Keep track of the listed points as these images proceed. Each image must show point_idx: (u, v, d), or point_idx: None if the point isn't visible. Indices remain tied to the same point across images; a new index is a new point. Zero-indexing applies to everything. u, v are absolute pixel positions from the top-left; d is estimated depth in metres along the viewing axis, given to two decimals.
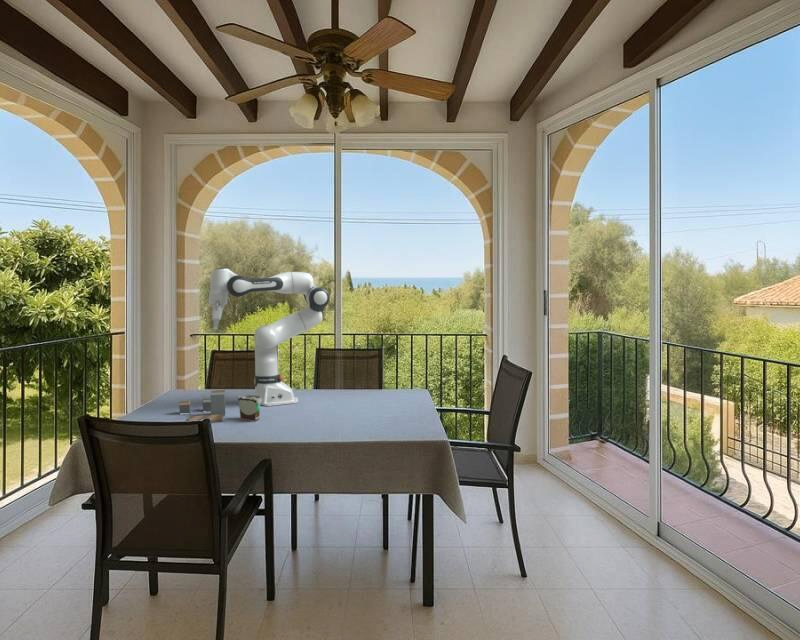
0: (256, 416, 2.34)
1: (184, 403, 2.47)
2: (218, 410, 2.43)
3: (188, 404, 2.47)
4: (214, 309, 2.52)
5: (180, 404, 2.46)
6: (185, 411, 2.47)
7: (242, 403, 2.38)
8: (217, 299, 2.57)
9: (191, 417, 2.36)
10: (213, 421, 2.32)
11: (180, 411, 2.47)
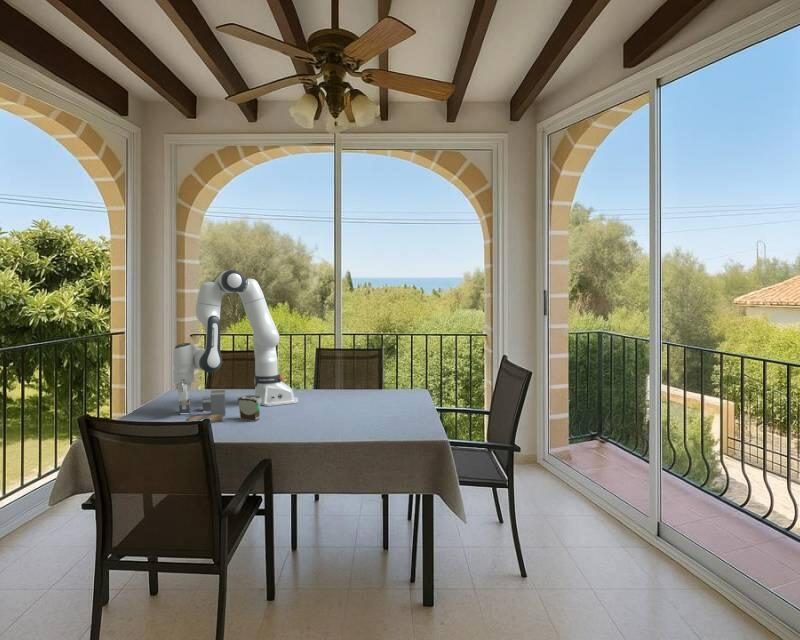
0: (256, 416, 2.34)
1: None
2: (218, 410, 2.43)
3: (188, 404, 2.47)
4: (179, 390, 2.39)
5: (180, 404, 2.46)
6: (185, 411, 2.47)
7: (242, 403, 2.38)
8: (182, 378, 2.44)
9: (191, 417, 2.36)
10: (213, 421, 2.32)
11: (180, 411, 2.47)
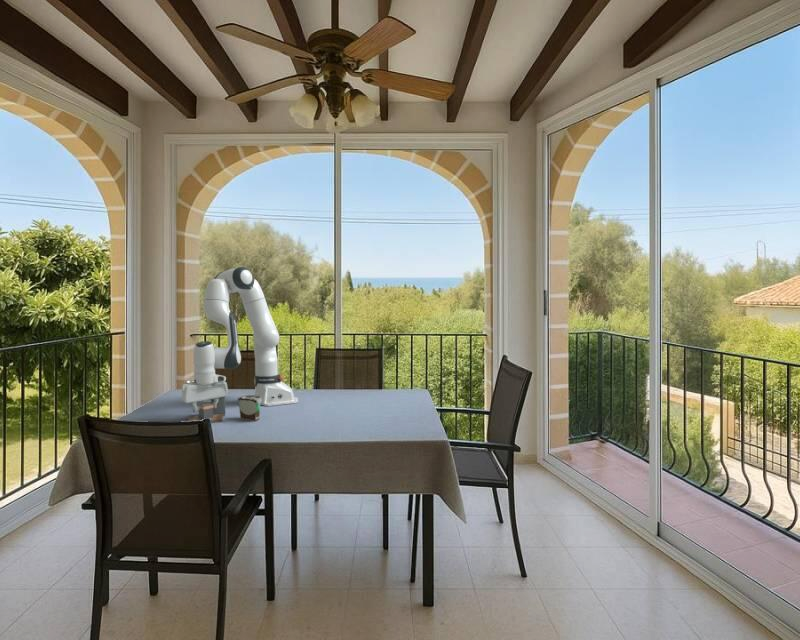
0: (256, 416, 2.34)
1: (201, 407, 2.34)
2: (218, 410, 2.43)
3: (203, 409, 2.33)
4: None
5: (199, 407, 2.35)
6: (201, 415, 2.34)
7: (242, 403, 2.38)
8: (195, 378, 2.31)
9: (191, 417, 2.36)
10: (213, 421, 2.32)
11: (199, 414, 2.35)
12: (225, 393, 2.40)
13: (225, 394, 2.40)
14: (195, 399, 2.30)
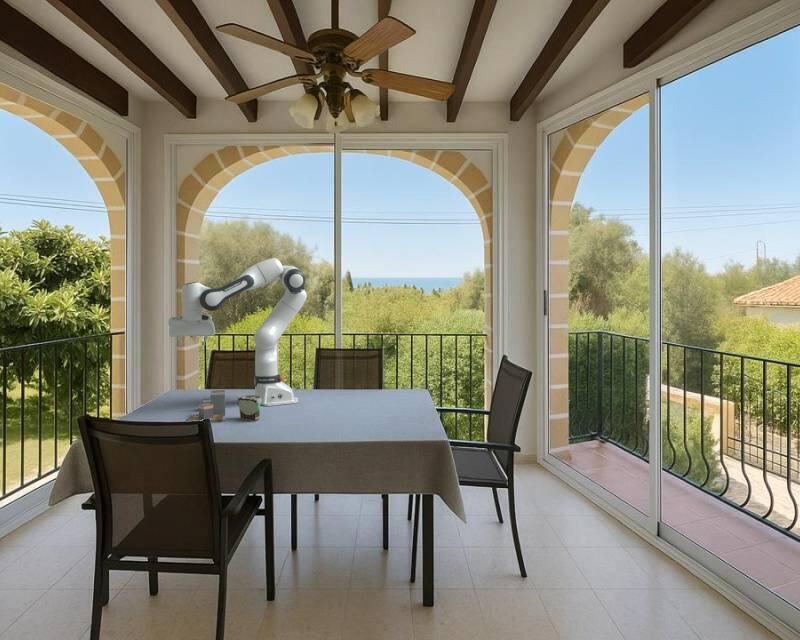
0: (256, 416, 2.34)
1: (201, 407, 2.34)
2: (218, 410, 2.43)
3: (203, 409, 2.33)
4: None
5: (199, 407, 2.35)
6: (201, 415, 2.34)
7: (242, 403, 2.38)
8: None
9: (191, 417, 2.36)
10: (213, 421, 2.32)
11: (199, 414, 2.35)
12: (212, 332, 2.53)
13: (212, 333, 2.53)
14: (179, 334, 2.49)
